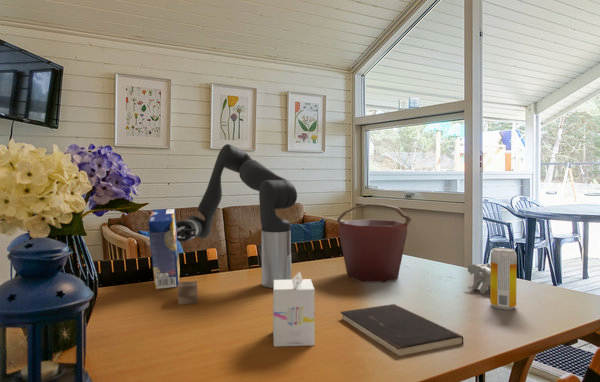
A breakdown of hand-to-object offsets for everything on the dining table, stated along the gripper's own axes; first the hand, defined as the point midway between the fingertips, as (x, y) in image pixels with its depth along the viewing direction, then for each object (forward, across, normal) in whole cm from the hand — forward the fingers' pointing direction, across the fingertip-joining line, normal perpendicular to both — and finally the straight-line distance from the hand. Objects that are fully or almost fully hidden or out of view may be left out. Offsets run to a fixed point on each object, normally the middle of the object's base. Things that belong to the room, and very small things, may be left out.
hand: (170, 234), depth 134 cm
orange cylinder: (+24, +96, +16) cm, 100 cm away
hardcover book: (+41, +65, +17) cm, 79 cm away
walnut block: (+20, +12, +16) cm, 29 cm away
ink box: (+46, +42, +17) cm, 65 cm away
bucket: (-9, +67, +15) cm, 69 cm away
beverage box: (+2, 0, +14) cm, 14 cm away
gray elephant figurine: (+7, +97, +15) cm, 99 cm away
